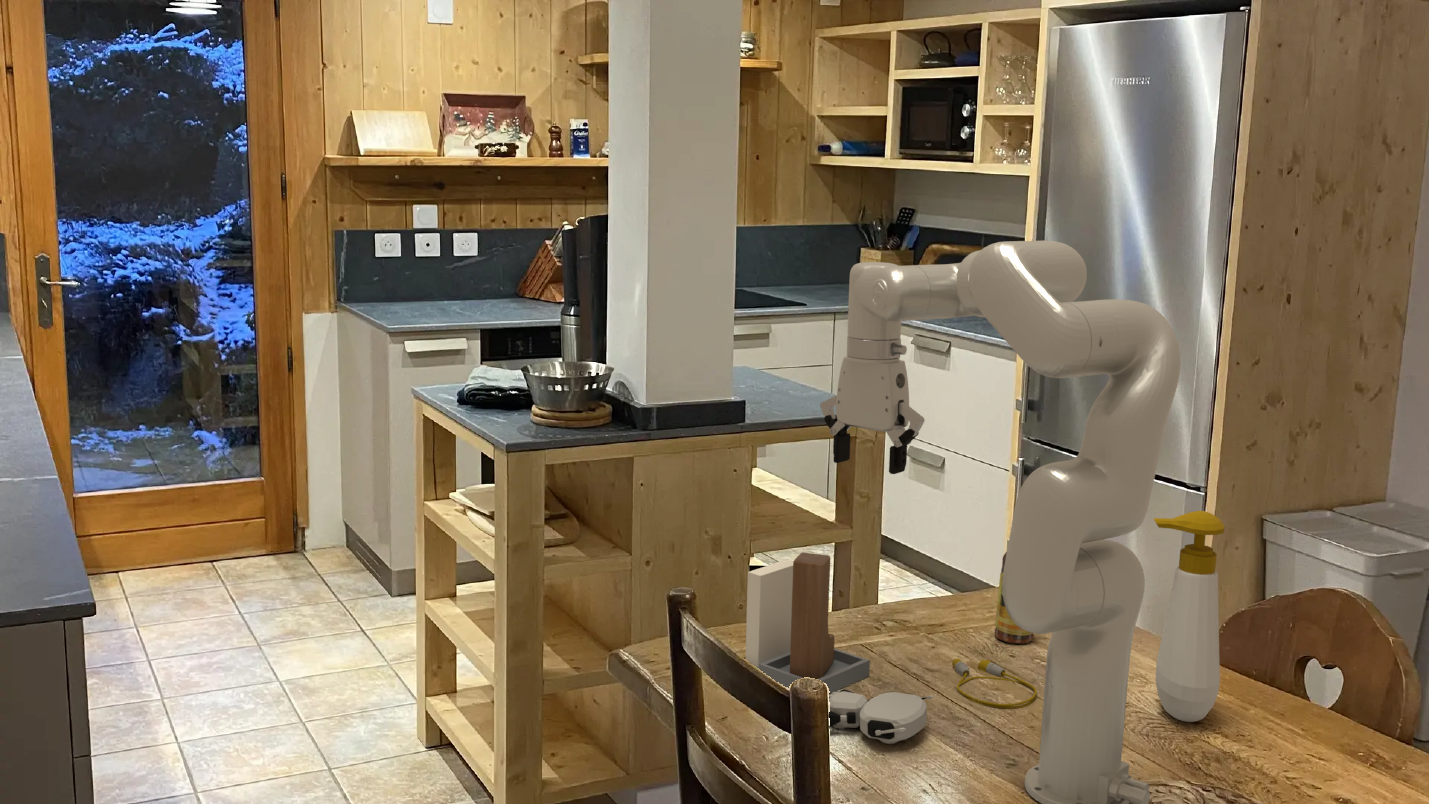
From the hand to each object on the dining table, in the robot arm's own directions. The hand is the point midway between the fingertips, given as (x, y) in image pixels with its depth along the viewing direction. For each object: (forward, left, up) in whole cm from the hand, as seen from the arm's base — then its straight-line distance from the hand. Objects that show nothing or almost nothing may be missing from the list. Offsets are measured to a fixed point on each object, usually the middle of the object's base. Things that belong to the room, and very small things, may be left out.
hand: (868, 466), depth 194 cm
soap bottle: (-40, -20, -32) cm, 55 cm away
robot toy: (-13, +15, -32) cm, 38 cm away
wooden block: (+4, +7, -31) cm, 32 cm away
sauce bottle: (-9, -29, -32) cm, 44 cm away
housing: (+6, +7, -31) cm, 33 cm away
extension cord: (-17, -10, -32) cm, 38 cm away
